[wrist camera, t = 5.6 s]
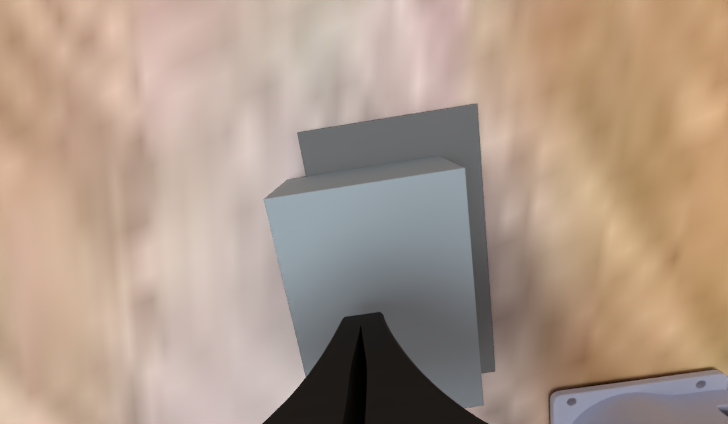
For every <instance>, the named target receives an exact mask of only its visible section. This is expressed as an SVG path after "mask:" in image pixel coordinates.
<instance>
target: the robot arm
mask: <svg viewBox="0 0 728 424" xmlns="http://www.w3.org/2000/svg"><path fill="white" fill-rule="evenodd" d="M727 385H728V377H727V376H726V375H725V374H724V373H722V372H721V371H719V370H709V371H701V372H694V373H686V374H679V375H672V376H664V377H657V378H649V379H642V380H635V381H627V382H620V383H613V384H605V385H598V386H590V387H583V388H576V389H568V390H561V391H556V392H554V393H553V394H552V395H551V397H550V424H728V390H727ZM570 398H571V399H570ZM568 399H569V400H568ZM263 424H488V423H486V422H484V421H482V420H481V419H479V418H477V417H476V416H474V415H473V414H471V413H470V412H468V411H467V410H465V409H464V408H463V407H462V406H460V405H459V404H458V403H456V402H455V401H454V400H453V399H451V398H450V397H449V396H447V395H446V394H445V393H444V392H442V391H441V390H440V389H439V388H438V387H437V386H436V385H435V384H434V383H432V382H431V381H430V380H429V379H428V378H427V377H426V376H425V375H424V374H423V373H422V372H421V371H420V370H419V368H418V367H417V366H416V365H415V364H414V363H413V362H412V360H411V359H410V358H409V357H408V356H407V354H406V353H405V352H404V350H403V349H402V348H401V346H400V345H399V343H398V342H397V340H396V339H395V338H394V336H393V334H392V333H391V331H390V329H389V327H388V325H387V323H386V321H385V318H384V314H382V313H381V312H375V313H368V314H361V315H354V316H347V317H344V318H343V319H342V320H341V322H340V324H339V326H338V328H337V330H336V332H335V334H334V336H333V337H332V339H331V341H330V342H329V344H328V346H327V347H326V349H325V351H324V352H323V354H322V355H321V357H320V358H319V360H318V361H317V363H316V364H315V366H314V367H313V368H312V370H311V371H310V373H309V374H308V375H307V377H306V378H305V379H304V381H303V382H302V383H301V384H300V386H299V387H298V388H297V389H296V390H295V391H294V393H293V394H292V395H291V396H290V397H289V398H288V399H287V400H286V401H285V402H284V403H283V404H282V405H281V406H280V407H279V408H278V409H277V410H276V411H275V412H274V413H273V414H272V415H271V416H270V417H269V418H268V419H267V420H266V421H265V422H264V423H263Z"/></svg>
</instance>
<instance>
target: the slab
mask: <svg viewBox="0 0 728 424" xmlns="http://www.w3.org/2000/svg"><path fill="white" fill-rule="evenodd" d="M264 203H265V207H266V212H267V216H268V220H269V224H270V228H271V233H272V237H273V241H274V245H275V249H276V254H277V258H278V262H279V266H280V270H281V275H282V279H283V283H284V287H285V291H286V296H287V300H288V304H289V308H290V312H291V317H292V321H293V325H294V329H295V333H296V338H297V342H298V346H299V350H300V354H301V359H302V363H303V367H304V371H305V375H306V377H307V375H308V374H309V373H310V371H311V370H312V368H313V367H314V366H315V364H316V363H317V361H318V360H319V358H320V357H321V355H322V354H323V352H324V351H325V349H326V347H327V346H328V344H329V342H330V341H331V339H332V337H333V336H334V334H335V332H336V330H337V328H338V326H339V324H340V322H341V320H342V319H343V318H344V317H347V316H354V315H361V314H368V313H375V312H381V313H382V314H384V318H385V321H386V323H387V325H388V327H389V329H390V331H391V333H392V334H393V336H394V338H395V339H396V340H397V342H398V343H399V345H400V346H401V348H402V349H403V350H404V352H405V353H406V354H407V356H408V357H409V358H410V359H411V360H412V362H413V363H414V364H415V365H416V366H417V367H418V368H419V370H420V371H421V372H422V373H423V374H424V375H425V376H426V377H427V378H428V379H429V380H430V381H431V382H432V383H434V384H435V385H436V386H437V387H438V388H439V389H440V390H441V391H442V392H444V393H445V394H446V395H447V396H449V397H450V398H451V399H453V400H454V401H455V402H456V403H458V404H459V405H460V406H462V407H463V408H468V407H476V406H483V405H484V402H483V390H482V377H481V365H480V352H479V339H478V327H477V314H476V302H475V289H474V277H473V264H472V251H471V239H470V226H469V214H468V201H467V189H466V176H465V168H464V167H462V166H460V165H458V164H455V163H453V162H451V161H449V160H447V159H444V158H442V157H440V156H435V157H429V158H422V159H416V160H410V161H403V162H397V163H391V164H384V165H378V166H372V167H365V168H359V169H353V170H346V171H340V172H333V173H327V174H321V175H314V176H308V177H302V178H295V179H289V180H286V181H285V182H284V183H283V184H281V185H280V186H279V187H278V188H277V189H275V190H274V191H273V192H272V193H271V194H269V195H268V196H267V197H266V198H264Z"/></svg>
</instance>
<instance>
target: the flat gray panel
mask: <svg viewBox="0 0 728 424" xmlns="http://www.w3.org/2000/svg"><path fill="white" fill-rule="evenodd" d="M297 134H298V139H299V144H300V149H301V154H302V159H303V164H304V169H305V174H306V177H308V176H314V175H321V174H327V173H333V172H340V171H346V170H353V169H359V168H365V167H372V166H378V165H384V164H391V163H397V162H403V161H410V160H416V159H422V158H429V157H435V156H440V157H442V158H444V159H447V160H449V161H451V162H453V163H455V164H458V165H460V166H462V167H464V168H465V176H466V189H467V201H468V214H469V226H470V239H471V251H472V264H473V277H474V289H475V302H476V314H477V327H478V339H479V352H480V365H481V373H487V372H494V371H495V361H494V346H493V331H492V316H491V301H490V286H489V271H488V256H487V241H486V226H485V211H484V196H483V181H482V166H481V151H480V136H479V121H478V106H477V104H471V105H465V106H459V107H453V108H446V109H440V110H434V111H428V112H422V113H415V114H409V115H403V116H397V117H391V118H384V119H378V120H372V121H366V122H360V123H353V124H347V125H341V126H335V127H329V128H322V129H316V130H310V131H304V132H298V133H297Z"/></svg>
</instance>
